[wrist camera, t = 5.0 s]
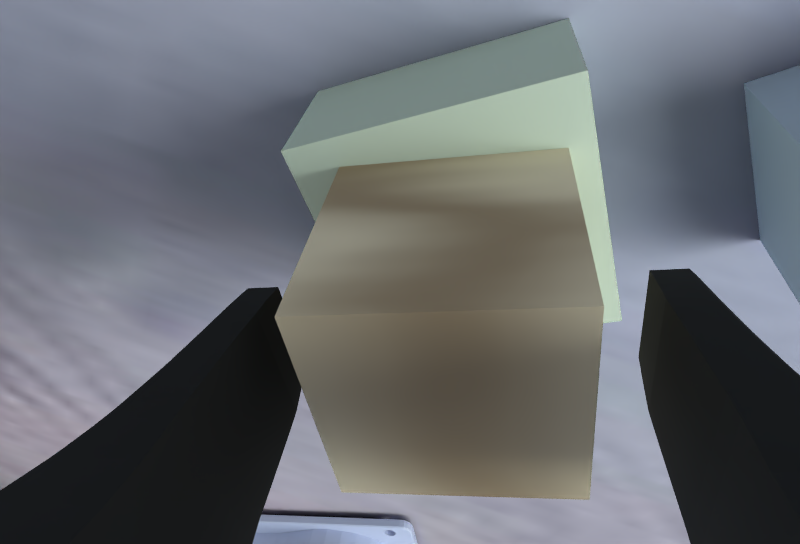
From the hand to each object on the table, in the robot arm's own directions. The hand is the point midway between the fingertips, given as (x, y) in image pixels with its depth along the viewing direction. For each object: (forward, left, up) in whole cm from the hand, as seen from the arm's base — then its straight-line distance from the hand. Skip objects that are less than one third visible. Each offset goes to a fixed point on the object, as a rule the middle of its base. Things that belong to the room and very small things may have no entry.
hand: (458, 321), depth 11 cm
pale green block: (0, 0, -6) cm, 6 cm away
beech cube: (0, 0, -2) cm, 3 cm away
